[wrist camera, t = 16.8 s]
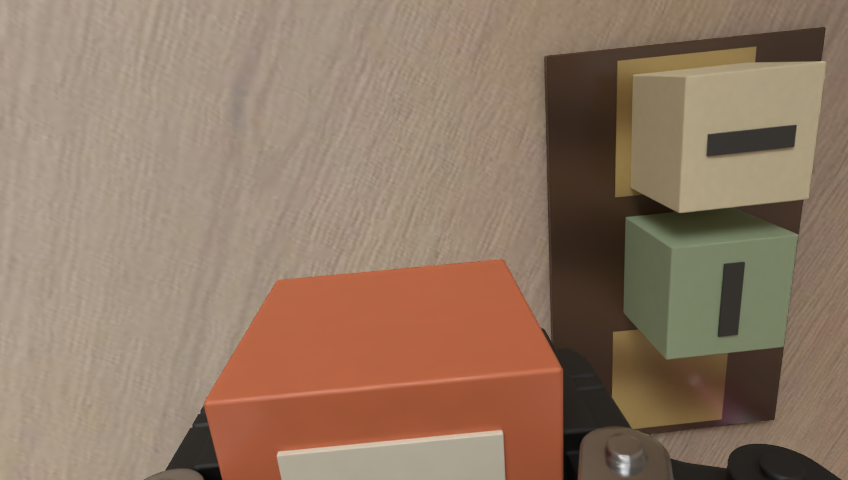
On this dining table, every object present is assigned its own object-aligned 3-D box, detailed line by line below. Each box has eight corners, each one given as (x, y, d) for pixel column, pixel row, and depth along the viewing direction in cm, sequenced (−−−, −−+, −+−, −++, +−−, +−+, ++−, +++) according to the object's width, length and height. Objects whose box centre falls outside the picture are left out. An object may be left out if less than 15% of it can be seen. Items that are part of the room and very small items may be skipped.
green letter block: (625, 216, 25) (673, 248, 20) (730, 205, 25) (801, 235, 20) (623, 313, 26) (667, 361, 22) (721, 302, 26) (786, 348, 22)
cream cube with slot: (632, 74, 23) (687, 76, 18) (747, 62, 23) (830, 61, 18) (629, 188, 24) (680, 214, 20) (737, 176, 24) (811, 199, 20)
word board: (544, 56, 23) (547, 55, 22) (817, 27, 23) (827, 26, 22) (553, 438, 29) (556, 445, 28) (768, 414, 29) (775, 421, 29)
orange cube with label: (275, 279, 11) (197, 408, 7) (504, 257, 12) (567, 371, 7) (310, 466, 13) (263, 667, 9) (511, 446, 13) (567, 636, 9)
